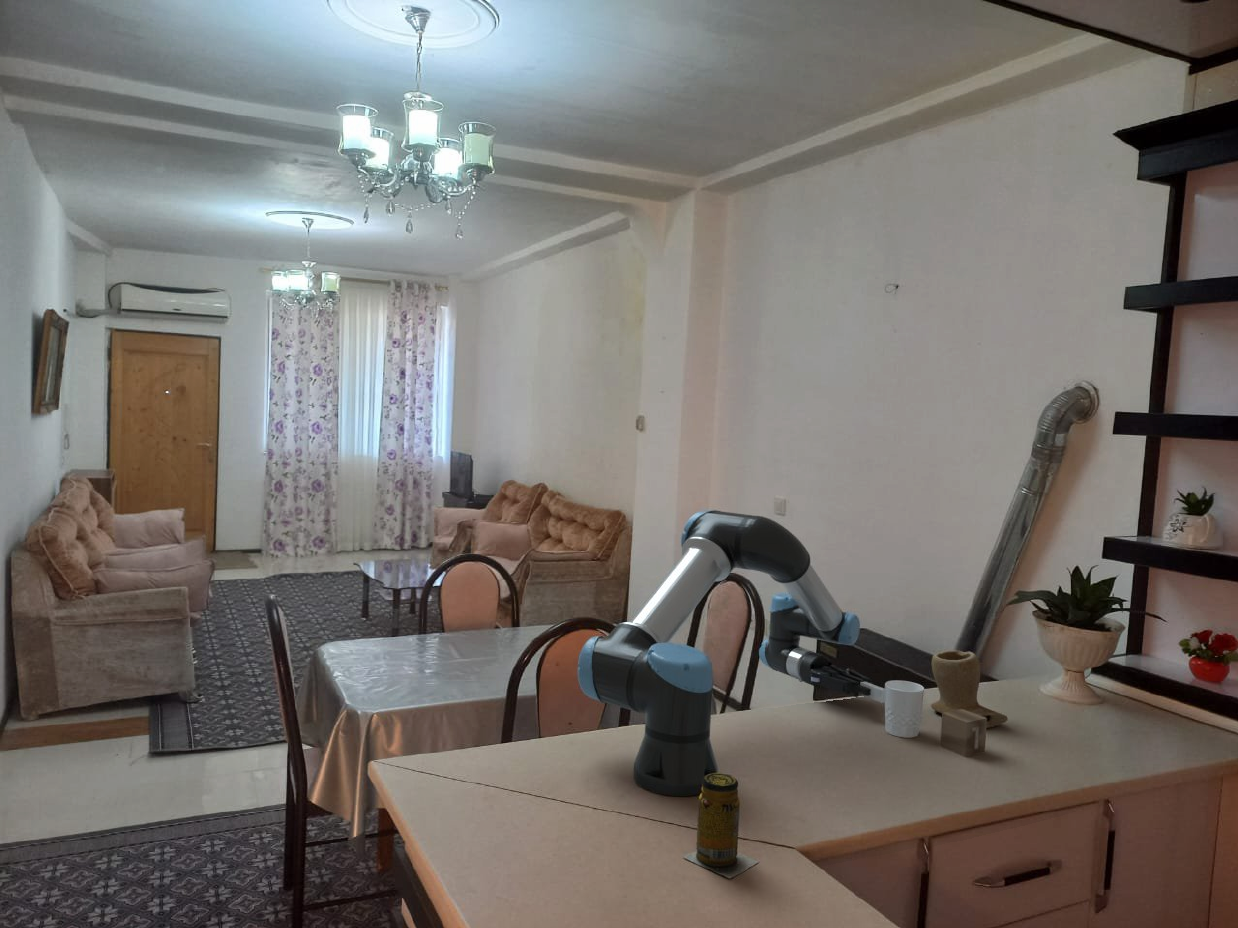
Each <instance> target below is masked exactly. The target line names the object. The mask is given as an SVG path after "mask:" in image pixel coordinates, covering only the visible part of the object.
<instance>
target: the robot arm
mask: <svg viewBox="0 0 1238 928" xmlns="http://www.w3.org/2000/svg"><path fill="white" fill-rule="evenodd" d="M683 531H684V532H683V533H682V534H681V538H680V539H681V540H680V541H681V542H680V543H681V545H680V546H681V555H682V556H681V558H680V559H679V560H678V561H677V563H675V565H674V566H673V567H672V568H671V570H670V571H669V572H668V574H666V576H665V578H663V580H662V581H661V582H660V584H659V585H658V586H657V587H656V589H655V590H654V591H653V592H652V593H651V595H650V596H649V597H648V599H646V600H645V602H644V603H643V605H642V606H641V607H640V608H639V609H638V610H637V612H636V613H635V614H634V616H633V617H632V619H631V620H630V621H628V622H627V621H626V622H620V623H618V624H617V625H616V626H615V627H614V628H613V629H612V630H611V631H610V633H609V634H608V635H607V636H606V637H605V636H603V635H597V636H595V635H594V636H592V637H590V638H588V640H587V641H586V642H585V643H584V645H583V646H582V648H581V651H580V654H579V655H578V656H579V657H578V662H577V679H578V684H579V686H580V688H581V691H582V692H583V694H585V695H586V696H587V697H588V698H590V699H593V700H596V701H598V702H599V703H601V704H609V705H613V706H615V707H619V708H622V709H623V708H624V709H626V710H630V711H633V712H636V713H639V714H644V716H645V720H644V721H645V724H644V725H645V726H644V736H643V738H642V741H641V743H640V747H639V748H638V752H637V755H636V757H635V760H634V762H633V773H632V775H633V780H634V781H635V783H636V784H637V785H638V786H640V787H641V788H643V789H645V790H647V791H650V792H653V793H656V794H660V795H663V796H664V795H665V796H671V797H672V796H673V797H690V796H698V795H699V796H700V794H701V793H702V790H701V789H702V780H703V778H704V776H706V775H708V774H712V773H719V768H718V764H717V761H716V757H715V753H714V750H713V746H712V742H711V722H712V721H711V719H712V702H713V688H714V678H713V662H712V661H711V659H710V658H709V655H707V654H706V653H705V652H703V651H701V650H700V649H698V648H696V647H692V646H690V645H687V644H681V643H674V642H671V641H672V639H673V638H674V637H675V635H676V634H677V632H678V631H680V628H681V627H682V626H683V625H684V623H685V622H686V621H687V619H688V618H689V617H690V616H691V615H692V613H693V611H694V610H695V609H696V607H697V606H698V605H699V603H700V602H701V601H702V599H703V598H704V597H705V596H706V594H707V593H708V591H709V590H710V589H711V587H712V586H713V585H714V584H715V582H721V581H724V580H726V579H727V577H728V576H729V575H730V574H731V572H732V571H733V570H734V569H741V570H748V571H756V572H760V573H764V574H767V575H769V576H770V578H771V579H772V580H773V581H775V582H776V583H780V584H782V585H783V587H784V588H785V590H786V591H787V592H778V593H775V594H773V596H772V597H771V604H770V610H769V613H770V615H769V617H770V618H769V636H768V637H767V638H766V639H764V640H763V641H762V642H761V646H760V648H759V650H758V654H759V659H760V661H761V663H762V665H765V666H766V667H768V668H770V669H772V671H775V672H779V673H782V674H784V675H787V676H789V677H791V678H794V679H797V680H798V681H799V682H800V683H802V682H804V683H805V684H808V685H811V686H813V687H816V688H820V687H823V688H827V689H830V690H833V691H836V692H840V693H843V694H846V695H850V694H851V693H852V694H853V695H852V696H853V697H854V698H858V697H859V695H860V696H863V697H866V698H868V699H871V700H873V701H875V702H879V703H880V704H883V703H884V704H885V687H884V688H883V687H881V686H878V685H875V684H874V683H872V679H871V678H870V677H868V676H865V675H863V674H861V673H860V672H858V671H856V670H854V668H853V667H851V666H850V667H847V669H846V670H845V669H842V668H841V667H838V666H837V665H835V664H832V662H831V660H830V658H828V657H827V656H825V655H823V654H820V653H818V652H815V651H813V650H810V649H807V648H804V647H802V646H800V640H801V637H804V638H810V639H815V640H820V641H823V642H829V643H833V644H838V645H845V646H852V645H854V644H855V643H856V642H857V640H858V638H859V635H860V630H861V623H860V622H861V621H860V619H859V616H858V615H856V614H855V613H850V612H848V611H846V612H845V611H842V609H841V608H840V606H839V604H838V603H837V601H836V600H835V599H834V597H833V595H832V594H831V593H830V591H829V589H828V588H827V587H826V585H825V584H824V582H823V581H822V579H821V578H820V576H819V575H818V573H817V571H816V570H815V569H814V567H813V565H812V564H811V555H810V553H809V551H808V550H807V549H806V547H805V545H804V544H803V543H802V542H801V540H799V539H798V537H797V536H795V535H794V534H793V533H792V532H791V531H790V530H789V529H787V528H786V527H784V525H781V523H779V522H778V521H775V520H774V519H771V518H768V517H765V516H762V515H752V514H745V513H744V514H743V513H737V512H730V511H729V512H728V511H721V510H715V509H712V510H699V511H698V512H696V513H694V514H693V515H691V517H689V519H688V520H687V521H686V523H685V525H684V527H683Z"/></svg>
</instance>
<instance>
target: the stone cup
mask: <svg viewBox="0 0 1238 928" xmlns="http://www.w3.org/2000/svg"><path fill="white" fill-rule="evenodd" d="M931 670H932V674H933V677H934V680H935V682H936V686H937V688H938V691H939V700H937V701H934V702H932V703H931V704H930V707H931V709H932V710H933V711H935V712H938V713H939V714H942V713H945V712H950V711H955V710H960V709H963V710H966V711H969V712H971V713H974V714H977V715H979V716H982V717H985V718H987V727H986V729H987V728H993V727H997V726H1000V725H1002V724H1004V723H1006V722H1007V721H1008V719H1009V718H1008V716H1007V715H1005V714H1002V713H1001V712H997V711H995V710H992V709H990V708H988V707H985V706H983V705H981V704H979V702H978V691H979V687H980V680H981V662H980V659H979V658H978V656H977V655H976V653H974V652H972V651H965V652H964V651H961V650H957V649H951V650H950V649H948V650H944V651H939V652H936V653H935V654H933V656H932V657H931Z"/></svg>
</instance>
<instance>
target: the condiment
mask: <svg viewBox="0 0 1238 928" xmlns="http://www.w3.org/2000/svg"><path fill="white" fill-rule="evenodd" d="M738 786H739V781H738V780H737V778H736V777H734V776H733V775H730V774H727V773H723V772H718V773H712V774H708V775H706V776H704V778H703V780H702V789H701V790H702V793H701V794H699V796H698V805H697V824H696V827H697V829H696V847H695V848H696V849H695V850H694V851H692V852H689V853H687V854H685V855H684V856H683V859H686V860H688V861H690V862H692V863H694V864H696V865H698V866H701V867H702V868H705V869H708V870H711V872H714V873H715V874H718V875H721V876H724V877H726V878H728V879H731V878H734V877H736V876H738V875H739V874H741V873H744V872H745V871H747V870H748V869H749V868H752V867H753V866H754V865H756V864H758V863H759V861H758V860H756V859H753V858H751V857H749V856H747V855H744V854H743V853H740V852H738V845H739V844H738V843H739V824H740V822H739V821H740V798H739V796H738V795H739V790H738Z"/></svg>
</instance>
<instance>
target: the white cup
mask: <svg viewBox="0 0 1238 928" xmlns="http://www.w3.org/2000/svg"><path fill="white" fill-rule="evenodd" d="M884 689H885V702H884V717H885V719H884V720H885V721H884V724H885V725H884V727H885V728H884V729H885V731H886V733H887V734H889V735H891V736H895V737H898V738H906V739H908V738H916V737H918V736H919V734H920V727H921V726H920V724H921V720H922V714H923V713H922V711H923V703H924V694H925V687H924V686H923V685H921V684H920V683H916V682H912V681H909V680H908V681H907V680H901V679H900V680H897V679H896V680H888V681H886V682H885V683H884Z"/></svg>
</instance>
